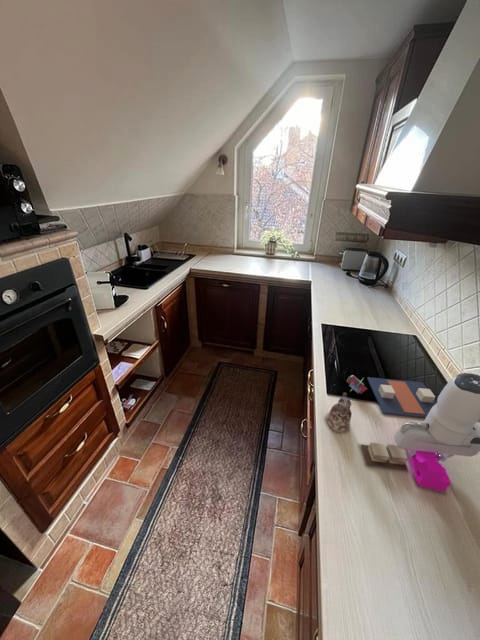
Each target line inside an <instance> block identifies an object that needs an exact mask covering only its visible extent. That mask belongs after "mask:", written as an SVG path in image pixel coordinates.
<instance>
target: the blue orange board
mask: <svg viewBox="0 0 480 640" xmlns="http://www.w3.org/2000/svg"><path fill="white" fill-rule="evenodd" d="M366 380H367V382H368V384H369V387H370V389H371V391H372V394H373V395H374V398H375V401H376V402H377V404H378V406H379V409H380V412H381V413H382V414H383V415H391V416H392V415H393V416H400V417H401V416H403V417H411V418H419V419H420V418H422V419H425V418H426V417H427V415H428V413H429V412H430V410H431V408H432V407H433V406H434V405H435V404H436V403H437V399H436V396H435V394H434V393H433V392H432V390H431V389H430V388H427V386H426V384H425V383H424V382H423V381H414V380H413V381H412V380H402V379H393V378H392V379H391V378H381V377H380V378H379V377H372V376H371V377H370V376H368V377H366Z"/></svg>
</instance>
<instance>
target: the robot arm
mask: <svg viewBox="0 0 480 640" xmlns="http://www.w3.org/2000/svg"><path fill="white" fill-rule="evenodd" d="M436 402H437V403H436V404H435V405H434V406H433V407H432V408H431V410H430V412H429V413H428V415H427V417H426V418H424V420H423V422H415V421H409V422H405V423H403V424H402V425H400V426H399V427H398V429H397V430H396V431H395V433H394V434H393V439H394V441H395V445H397V446H398V447H399V448H401V449H403V450H406V452H407V456H408V458H409V457H412V458H415V457H416V456H417V454H416V452H415V451H416V450H417V451H425V452H434V453H435V454H436V457H437V460H438V462H445V461H446V460H447V459H449V458H453V457H454V456H460V457H469V458H470V457H475V456H477V455H478V454H479V453H480V427H479V425H478V424H477V423H480V374H476V373H471V372H470V373H469V372H462V373H458V374H456V375H455V376H454V377H452V378H451V379H450V380H449V381H448V382H447V383H446V384H445V386H444V387H443V388H442V390H441V392H440V393H439V395H438V396H437V399H436ZM407 449H408V451H407Z"/></svg>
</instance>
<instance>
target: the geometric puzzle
mask: <svg viewBox="0 0 480 640" xmlns="http://www.w3.org/2000/svg"><path fill="white" fill-rule="evenodd" d="M361 378H362V379H361V380H360V379H359V377H357V376H356V375H354V374H352V375H349V376H348V378H347V379H346V383H347V384H348V387H349V388H348V390H349V393H352V394H354V392H355V393H356V394H357V395H362V394H363V393H364V392H366V391H367V390H368V388H369V387H367V386H366V383H364V382H363V381H364V380H365V377H361ZM350 388H351V389H350ZM352 391H354V392H352Z"/></svg>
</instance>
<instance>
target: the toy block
mask: <svg viewBox="0 0 480 640" xmlns="http://www.w3.org/2000/svg"><path fill="white" fill-rule="evenodd" d="M407 451H408V449H406V452H407ZM415 452H416V454H417V456H416V457H415V458H412V457H409V456H408V458H409V461H410V465H411V468H412V471H413V474H414V478H415V481H416V484H417V486H420V487H424V488H427V489H430V490H434V491H438V492H442V493H445V491H446V490H447V489H448V488H449V486H451V484H452V482H451V480H450V477H449V475H448V472H447V470H446V468H445V467H444V466H442V463H440V461H439V460H438V458H437V457H436V454H437V453H434V452H425V451H417V450H416V451H415Z"/></svg>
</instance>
